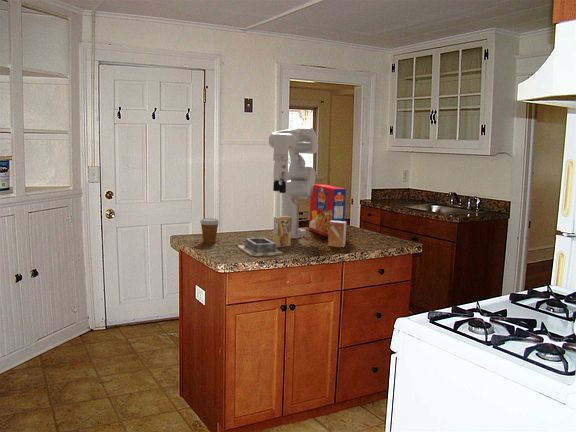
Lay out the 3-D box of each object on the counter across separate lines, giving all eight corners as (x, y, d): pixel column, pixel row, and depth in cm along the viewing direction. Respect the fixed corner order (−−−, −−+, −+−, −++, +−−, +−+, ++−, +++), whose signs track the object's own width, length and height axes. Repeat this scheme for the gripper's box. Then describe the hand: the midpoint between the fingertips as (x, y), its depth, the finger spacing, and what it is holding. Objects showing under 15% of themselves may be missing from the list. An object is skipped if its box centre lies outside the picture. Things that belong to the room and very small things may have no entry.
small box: (327, 246, 287) (328, 221, 285) (330, 244, 293) (331, 220, 291) (342, 247, 285) (344, 223, 283) (345, 245, 291) (346, 221, 289)
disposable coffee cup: (196, 242, 285) (196, 219, 283) (210, 240, 291) (211, 217, 290) (207, 245, 278) (208, 221, 276) (222, 243, 285) (222, 220, 283)
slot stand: (268, 246, 281) (268, 236, 280) (282, 254, 263) (282, 244, 262) (238, 247, 275) (238, 237, 274) (250, 256, 257) (250, 245, 256)
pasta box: (309, 229, 335) (311, 184, 331) (320, 229, 338) (322, 184, 334) (331, 238, 310) (333, 189, 306) (343, 237, 313) (346, 188, 309)
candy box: (285, 244, 287) (286, 215, 285) (290, 246, 284) (292, 216, 282) (272, 246, 282) (273, 216, 279) (277, 247, 278) (278, 217, 276)
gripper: (293, 159, 271) (292, 193, 273) (282, 157, 287) (280, 190, 290) (279, 158, 269) (277, 193, 271) (268, 157, 285) (267, 190, 287)
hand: (279, 191), depth 280 cm, fingers open, 9 cm apart
